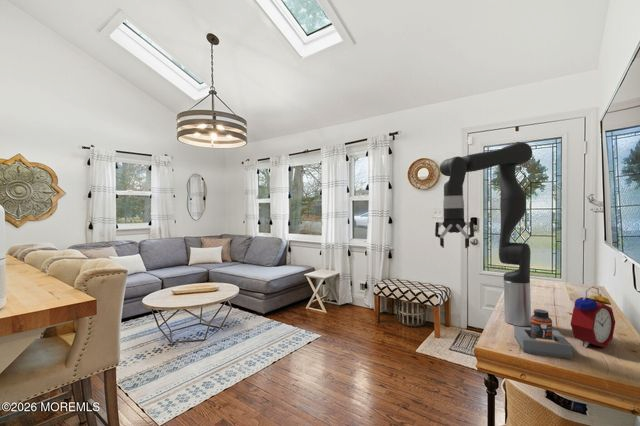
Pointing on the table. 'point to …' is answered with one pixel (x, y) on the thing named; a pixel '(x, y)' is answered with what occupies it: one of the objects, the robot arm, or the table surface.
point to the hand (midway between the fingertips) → (454, 247)
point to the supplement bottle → (541, 325)
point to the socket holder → (543, 343)
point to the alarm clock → (593, 320)
